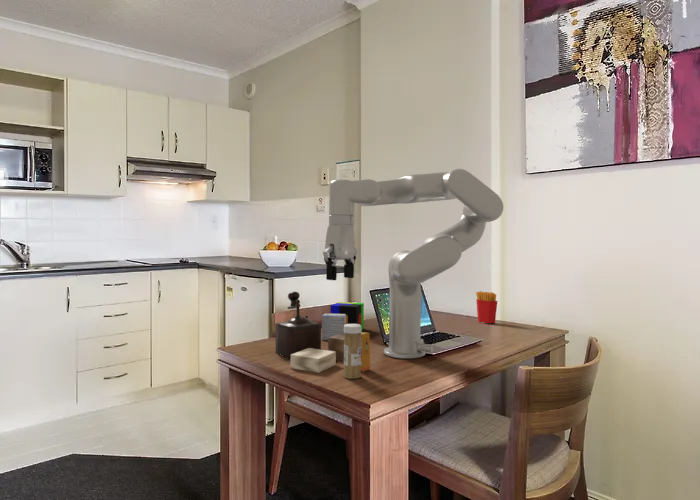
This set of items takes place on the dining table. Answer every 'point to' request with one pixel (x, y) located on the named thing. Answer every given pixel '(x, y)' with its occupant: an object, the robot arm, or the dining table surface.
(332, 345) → the walnut block
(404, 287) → the robot arm
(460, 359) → the dining table surface
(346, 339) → the sprinkles bottle
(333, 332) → the medicine box
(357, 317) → the puzzle toy
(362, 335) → the supplement box
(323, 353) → the birch block
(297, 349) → the manual coffee grinder
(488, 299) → the french fries
